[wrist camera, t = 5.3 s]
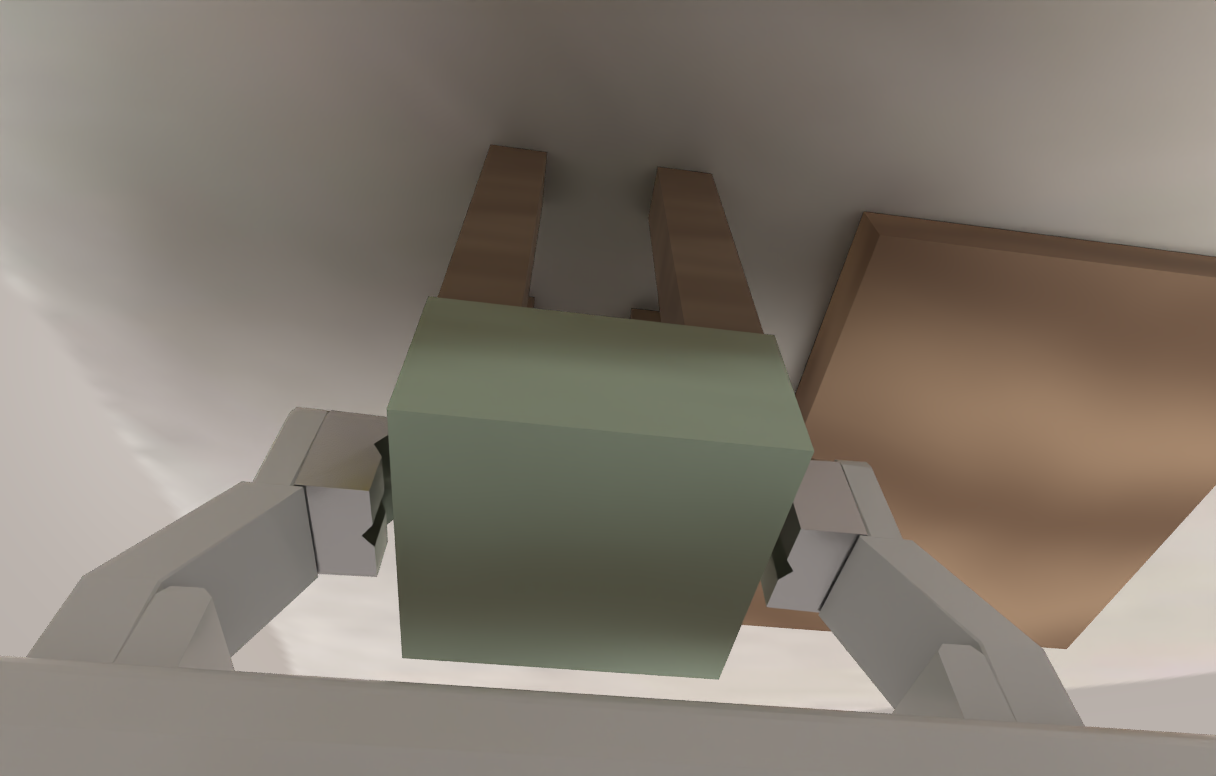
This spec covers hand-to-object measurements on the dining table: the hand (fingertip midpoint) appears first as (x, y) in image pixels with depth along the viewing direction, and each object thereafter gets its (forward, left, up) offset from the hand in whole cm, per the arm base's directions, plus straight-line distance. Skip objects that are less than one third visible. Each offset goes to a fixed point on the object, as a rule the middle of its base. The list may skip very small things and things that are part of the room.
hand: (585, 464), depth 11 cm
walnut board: (+5, +12, -7) cm, 15 cm away
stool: (0, 0, -7) cm, 7 cm away
